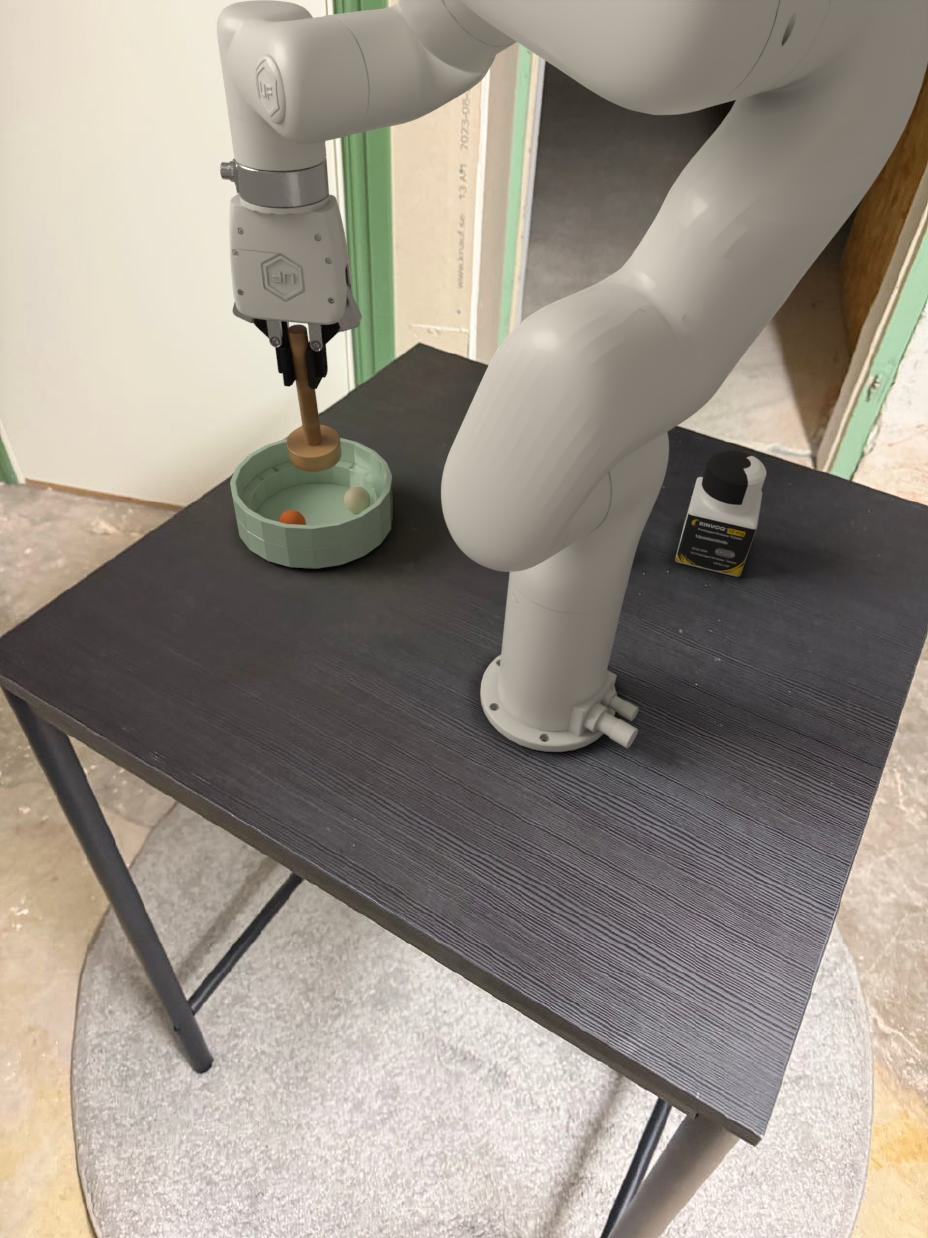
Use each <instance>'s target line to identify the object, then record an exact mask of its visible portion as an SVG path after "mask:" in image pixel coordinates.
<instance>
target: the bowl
mask: <svg viewBox="0 0 928 1238" xmlns="http://www.w3.org/2000/svg"><path fill="white" fill-rule="evenodd" d="M340 443H341V452H342V455H341V458H340V460H339V462H338V463H337V464H336V465H335V466H333V467H331V468H330V469H327V470H324V471H319V472H307V471H302V470H300V469H298V468H296V467H295V466H293V465H292V464H291V462H290V460H289V454H288V449H287V438H284V439H281V440H277V441H275V442H271V443H268V444H266V445H264V446H262V447H260V448H258V449H256V450H255V451H253V452H251V453H249V454H247V456H245V458H243V460H242V461H240V462H239V464H238V465H237V466H236V467H235V468H234V471H233V473H232V476H231V479H230V480H229V481H230V482H229V483H230V491H231V497H232V503H233V509H234V514H235V519H236V526H237V531H238V536H239V538H240V540H242V542H243V543H244V544H245V546H246V547H247V548H248V550H249V551H250V552H252V553H253V554H255V555H258V556H259V557H261V558H262V559H264V560H266V561H267V562H271V563H273V564H277V565H281V566H285V567H288V568H295V569H296V568H298V569H299V568H301V569H322V568H323V569H325V568H330V567H337V566H342V565H344V564H347V563H351V562H353V561H355V560H358V559H361V558H362V557H363V558H364V557H365V556H366V555H368V554H369V553H370V552H372V551H374V550H375V549H376V548H378V547H379V546H381V544H382V543H383V542H384V540H385V539H386V537H387V536H388V535H389V533H390V532H391V530H392V524H393V517H394V503H393V502H394V501H393V498H394V497H393V496H394V495H393V475H392V471H391V470H390V469H391V468H390V467H389V465H388V463H387V461H386V460H385V459H384V458H383V457H382V456H381V455H380V454H379V453H378V452H377V451H376V450H374V449H372V448H370V447H368V446H366V445H364V444H362V443H360V442H358V441H355V440H351V439H346V438H342V437H340ZM352 487H362V488H364V489H365V490H366V491H367V492H368V493H369V495H370V499H371V502H370V505H369V507H368V508H366V509H365V510H364V511H362V512H361V513H353V512H351V511H349V510H348V509H347V508H346V506H345V503H344V496H345V494H346V492H347V491H348V490H349V489H350V488H352ZM288 510H295V511H298V512H299V513H301V514H302V515H303V516H304V518H305V521H306V525H297V524H285V523H282V522H278V520H279V517H280V516H281V514H282V513H284V512H285V511H288Z"/></svg>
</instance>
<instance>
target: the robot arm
mask: <svg viewBox="0 0 928 1238" xmlns="http://www.w3.org/2000/svg"><path fill="white" fill-rule="evenodd" d="M216 21H217V22H216V38H217V43H218V44H217V45H218V51H219V58H220V64H221V72H222V80H223V86H224V93H225V100H226V107H227V115H228V122H229V130H230V137H231V143H232V150H233V158H232V160H230V161H229V162H226V161H221V163H220V167H219V173H220V177H221V179H222V180H227V181H230V182H231V183H234V186H235V189H236V195H234V196H233V197H231V198H230V203H229V222H228V225H229V226H228V228H229V258H230V259H229V260H230V271H231V272H230V273H231V285H232V292H233V299H234V303H233V307H232V314H233V315H234V316H235V317H236V318H239V319H241V320H243V321H245V322H247V323H250V324H253V325H254V326H255V327H256V328H257V329H258V330H259V331H260V333H262V334H263V335H264V336H265V337H266V338H268V341H269V345H270V346H271V347H273V348H274V350H275V356H276V366H277V372H278V374H282V380H283V381H282V382H283V386H284V387H288V388H289V387H291V386H294V385H293V384H294V383H295V382H296V381H295V375H294V368H293V362H292V355H291V349H290V342H289V336H288V328H289V327H290V323H296V324H307V327H308V328H307V330H308V340H309V342H308V343H309V347H308V348H307V350H306V353H305V355H306V365H307V375H308V385H309V387H310V388H311V389H315V390H317V389H318V387H319V386H320V383H321V381H322V380H323V379H324V378H325V379H326V377H327V375H328V372H329V371H328V370H329V366H328V365H329V364H328V354H327V344H328V343H329V342H330V341H331V340H332V339H333V338H335V336H336V335H338V333H341V332H342V333H344V332H346V331H350V330H353V329H356V328H358V327H359V326H360V324H361V322H362V320H363V316H362V313H361V311H360V308H359V306H358V304H357V301H356V300H355V297H354V295H353V281H352V271H351V264H350V263H351V262H350V257H349V256H350V255H349V248H348V243H347V237H346V232H345V227H344V223H343V218H342V214H341V211H340V207H339V203H338V200H337V197H336V196H335V195H333V194H330V187H329V172H328V160H327V159H328V158H327V146H326V142H328V141H332V140H337V139H341V138H346V137H350V136H352V135H357V134H361V133H366V132H370V131H375V130H380V129H384V128H389V127H393V126H394V127H395V126H398V125H403V124H407V123H411V122H413V121H416V120H418V119H420V118H423V117H425V116H426V115H428V114H431V113H432V112H434V111H436V110H438V109H439V108H441V107H443V106H445V105H446V104H448V103H451V102H452V101H453V100H455V99H457V98H458V97H460V96H462V95H463V94H466V93H467V92H468V91H470V90H471V89H473V88H474V87H476V86H477V85H478V84H480V82H481V81H483V79H484V78H485V77H486V75H487V74H488V72H489V70H490V69H491V67H492V65H493V63H494V61H495V59H496V56H497V55H498V54H500V53H502V52H503V51H504V50H506V49H508V48H509V47H511V46H513V45H515V44H516V43H518V44H519V45H521V46H523V48H526V49H527V50H529V51H530V52H532V53H533V54H534V55H536V56H538V57H539V58H541V59H542V60H544V61H545V62H547V63H548V64H550V65H552V66H553V67H554V68H556V69H558V70H559V71H561V72H562V73H564V74H565V75H567V76H568V77H569V78H571V79H573V80H574V81H576V82H577V83H578V84H580V85H581V86H583V87H585V88H586V89H587V90H589V91H591V92H592V93H594V94H596V95H598V96H599V97H600V98H603V99H605V100H606V101H608V102H610V103H612V104H615V105H617V106H619V107H620V108H621V107H622V108H624V109H627V110H629V111H634V112H638V113H643V114H648V115H653V116H672V115H673V116H674V115H682V114H683V115H684V114H690V113H693V112H698V111H702V110H704V109H707V108H711V107H715V106H719V105H722V104H725V103H730V102H733V101H734V103H733V105H732V107H731V109H730V111H729V112H728V113H727V115H726V116H725V118H724V119H723V120H722V121H721V124H719V126H718V127H717V128H716V129H715V131H714V132H713V133H712V134H710V135H711V136H710V137H709V138H707V140H706V141H705V142H704V144H702V146H701V147H700V149H699V150H698V151H697V152H696V153H695V155H694V156H692V157H691V159H690V161H689V162H688V163H687V164H686V166H685V167H684V168H683V169H682V171H681V172H680V174H679V175H678V177H677V178H676V179H675V181H674V183H673V184H672V186H671V187H670V189H669V190H668V193H667V195H666V196H665V198H664V201H663V202H662V204H661V207H660V209H659V210H658V212H657V214H656V216H655V218H654V219H653V221H652V223H651V224H650V226H649V228H648V229H647V231H646V233H645V234H644V236H643V237H642V239H641V241H639V244H638V246H636V248H635V250H633V252H632V254H631V255H630V257H629V258H628V259H627V260H626V262H625V263H624V264H623V265H622V266H621V268H619V269H618V270H616V271H615V272H614V273H612V274H610V275H609V276H608V277H606V278H604V279H602V280H600V281H599V282H596V283H595V284H593V285H591V286H588V287H585V288H583V289H582V290H579V291H577V292H575V293H572V294H570V295H567V296H565V297H562V298H560V299H557V300H556V301H553V302H551V303H548V304H547V305H545V306H543V307H541V308H540V309H538V310H536V311H535V312H533V313H531V314H530V315H528V316H527V317H526V318H524V319H523V320H522V321H521V322H519V324H518V325H516V326H515V328H513V330H511V332H509V334H508V335H506V337H505V338H504V339H503V341H502V342H501V344H500V345H499V346H498V348H497V349H496V351H495V353H494V354H493V356H492V358H491V360H490V362H489V364H488V366H487V368H486V370H485V372H484V374H483V376H482V379H481V381H480V383H479V385H478V387H477V390H476V392H475V394H474V396H473V399H472V400H471V403H470V405H469V407H468V409H467V412H466V414H465V416H464V418H463V420H462V422H461V425H460V426H459V429H458V432H457V433H456V436H455V438H454V440H453V443H452V445H451V447H450V450H449V452H448V454H447V458H446V460H445V462H444V463H445V464H444V467H443V471H442V476H441V483H440V501H441V509H442V513H443V519H444V522H445V525H446V527H447V529H448V533H449V534H450V536H451V538H452V540H453V541H454V543H455V544H456V546H457V547H458V548H459V550H460V551H461V552H462V553H463V554H464V555H466V556H467V557H468V559H470V560H472V561H473V562H475V563H476V564H478V565H480V566H482V567H484V568H486V569H490V570H493V571H497V572H502V573H503V572H505V573H509V575H508V585H507V593H506V605H505V612H504V624H503V634H502V643H501V651H500V652H501V653H500V654H499V655H498V656H496V657H495V658H494V659H493V660H492V661H491V662H490V664H488V666H487V668H486V669H485V671H484V673H483V675H482V679H481V681H480V690H479V691H480V692H479V695H480V703H481V708H482V711H483V713H484V715H485V716H486V718H487V720H488V721H489V723H490V724H491V725H492V726H493V728H494V729H495V730H496V731H497V732H499V733H500V734H501V735H502V736H503V737H505V738H506V739H507V740H509V741H511V742H514V743H516V744H517V745H519V746H521V747H522V746H523V747H524V748H528V749H530V750H535V751H540V752H545V753H546V752H548V753H549V752H550V753H562V752H568V751H569V752H571V751H575V750H578V749H581V748H585V747H586V746H589V745H590V744H593V743H594V742H596V741H597V740H599V738H601V737H602V736H603V735H606V736H607V737H608V738H609V739H610V740H612V741H613V742H615V743H617V744H619V745H620V746H622V747H623V748H625V749H629V748H630V747H631V745H632V744H633V743H634V741H635V740H636V738H637V735H638V733H639V729H638V728H637V727H635V726H633V725H632V724H630V723H628V722H626V721H625V720H623V719H621V718H618V717H616V716H615V715H616V713H617V714H618V715H619V716H622V717H623V718H625V719H627V720H628V721H630V722H633V720H634V719H636V716H637V715H638V713H639V710H640V709H639V708H640V707H638V706H636V705H634V704H633V703H631V702H630V701H627V700H624V699H622V698H621V697H619V696H618V692H617V690H616V686H615V684H616V680H617V677H618V675H617V674H616V673H614V672H612V671H610V670H608V668H609V665H610V664H609V663H610V659H611V655H612V651H613V648H614V643H615V639H616V634H617V629H618V625H619V621H620V617H621V612H622V607H623V603H624V599H625V594H626V591H627V588H628V584H629V579H630V575H631V572H632V567H633V564H634V559H635V556H636V553H637V549H638V545H639V542H640V539H641V536H642V534H643V532H644V529H645V526H646V524H647V523H648V520H649V518H650V515H651V513H652V511H653V508H654V506H655V504H656V501H657V499H658V497H659V495H660V492H661V489H662V487H663V484H664V481H665V478H666V473H667V470H668V464H669V457H670V440H669V434H668V432H669V431H671V430H673V429H675V428H676V427H677V426H680V424H683V423H684V422H685V421H686V420H688V419H690V418H691V417H692V416H693V415H695V414H696V413H697V412H699V411H700V410H701V409H702V408H703V407H704V406H705V405H707V404H708V403H709V401H710V400H711V399H712V398H713V397H714V396H715V394H716V393H717V392H718V390H720V388H721V387H722V385H723V384H724V382H725V381H726V380H727V378H728V377H729V376H730V374H731V373H732V371H733V370H734V368H735V367H736V366H737V364H738V363H739V361H740V360H741V359H742V358H743V356H744V355H745V354H746V352H747V351H748V350H749V349H750V347H751V346H753V344H754V342H755V341H756V340H757V339H758V337H759V336H760V334H761V333H762V332H763V331H764V329H765V328H766V327H767V326H768V324H769V323H770V322H771V320H772V319H773V318H774V317H775V316H776V314H777V313H778V312H779V311H780V309H781V308H782V307H783V305H784V304H785V303H786V301H787V300H788V298H789V297H790V296H791V294H792V292H793V291H794V290H795V288H796V286H798V283H799V282H800V281H801V280H802V278H803V277H804V276H805V274H806V273H807V272H808V270H809V269H810V268H811V267H812V265H813V264H814V263H815V261H816V260H817V259H818V258H819V256H820V255H821V254H822V252H823V251H824V250H825V248H826V247H827V246H828V245H829V244H830V242H831V241H832V239H833V238H835V235H836V234H837V233H838V232H839V231H840V229H841V228H842V227H843V225H844V224H845V223H846V221H847V220H848V219H849V218H850V216H851V215H852V213H853V212H854V211H855V210H856V208H857V206H859V204H860V202H861V201H862V200H863V199H864V197H865V196H866V194H867V193H868V191H869V190H870V188H871V187H872V186H873V184H874V182H875V181H876V180H877V178H878V177H879V175H880V173H881V172H882V170H883V169H884V167H885V165H886V164H887V162H888V160H889V158H890V157H891V156H892V153H893V151H894V150H895V148H896V146H897V145H898V142H899V141H900V139H901V137H902V135H903V133H904V131H905V129H906V127H907V124H908V122H909V120H910V117H911V115H912V113H913V110H914V108H915V106H916V103H917V100H918V98H919V94H920V91H921V89H922V86H923V83H924V78H925V75H926V71H927V68H928V0H397V2H396V3H394V4H393V5H391V6H388V7H385V8H378V9H367V10H365V9H364V10H358V11H350V12H341V13H334V14H326V15H325V14H324V15H323V16H316V17H313V16H312V14H311V13H310V11H309V10H308V9H307V8H305V7H304V6H302V5H299V4H297V3H294V2H289V1H284V0H283V1H282V0H246V1H245V0H244V1H237V2H234V3H231V4H229V5H227V6H225V7H224V8H222V10H221V11H220V13H219V15H218V18H217V20H216Z"/></svg>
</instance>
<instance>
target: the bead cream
mask: <svg viewBox="0 0 928 1238" xmlns="http://www.w3.org/2000/svg"><path fill="white" fill-rule="evenodd" d="M370 502H371V499H370V495H369V493H368V492H367V491H366V490H365V489H364V488H362V487H352V488H350V489H349V490H348V491H347V492H346V494H345V496H344V503H345V506H346V508H347V509H348V510H349V511H351V512H353V513H361V512H362V511H364V510H365V509H366V508H368V507H369V505H370Z"/></svg>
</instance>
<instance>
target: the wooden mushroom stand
mask: <svg viewBox="0 0 928 1238" xmlns="http://www.w3.org/2000/svg"><path fill="white" fill-rule="evenodd" d="M288 336H289V342H290V349H291V355H292V362H293V368H294V375H295V381H294V382H295V388H296V392H297V399H298V400H297V401H298V406H299V413H300V420H301V426H299V427H298V428H296V429H294V430H293V431H292V432H291V433H290V434H289V435H288V437H287V438H286V439H287V449H288V454H289V460H290V462H291V464H292V465H293V466H295V467H296V468H298V469H300V470H302V471H307V472H319V471H324V470H327V469H330V468H331V467H333V466H335V465H336V464H337V463H338V462H339V460H340V458H341V455H342V452H341V443H340V438H341V436H340V435H339V433H338V431H336V430H335V429H334V428H332V427H331V426H328V425H325V424H321V422H320V414H319V408H318V400H317V393H316V389H311V388H310V387H309V385H308V375H307V365H306V355H305V353H306V350H307V348H308V347H309V343H308V342H309V341H310V340H309V332H308V328H307V327H306V325H303V324H301V323H296V324H293V325H289V328H288Z"/></svg>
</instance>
